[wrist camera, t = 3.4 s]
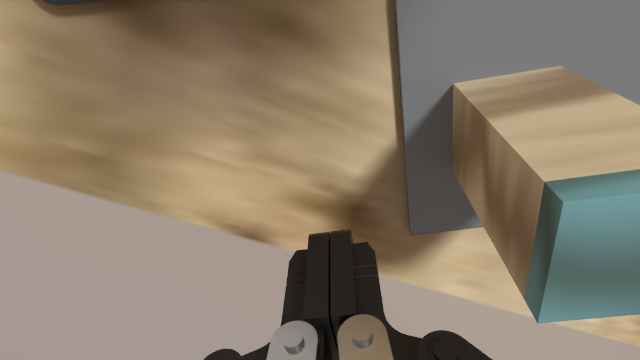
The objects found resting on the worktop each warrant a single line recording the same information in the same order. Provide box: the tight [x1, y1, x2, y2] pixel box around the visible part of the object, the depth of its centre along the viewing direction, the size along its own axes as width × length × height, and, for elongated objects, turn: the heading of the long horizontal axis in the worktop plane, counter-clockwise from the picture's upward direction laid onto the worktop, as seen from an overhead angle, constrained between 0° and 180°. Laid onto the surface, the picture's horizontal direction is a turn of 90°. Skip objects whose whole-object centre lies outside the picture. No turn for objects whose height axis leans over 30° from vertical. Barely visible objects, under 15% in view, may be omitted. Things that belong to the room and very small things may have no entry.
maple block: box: [452, 66, 640, 323], centre depth 15 cm, size 5×5×10 cm
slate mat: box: [395, 0, 640, 235], centre depth 19 cm, size 14×21×1 cm, turn 100°
